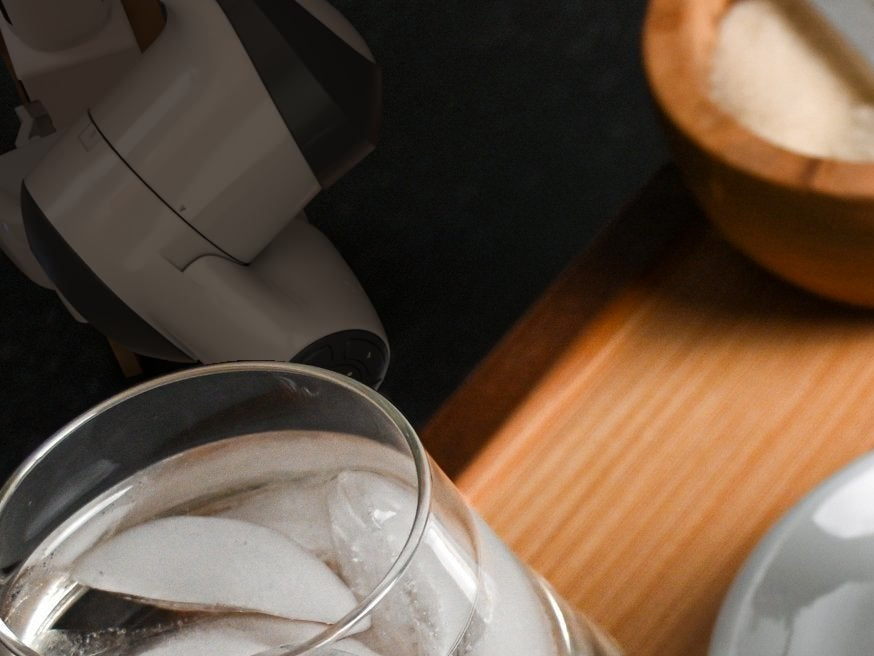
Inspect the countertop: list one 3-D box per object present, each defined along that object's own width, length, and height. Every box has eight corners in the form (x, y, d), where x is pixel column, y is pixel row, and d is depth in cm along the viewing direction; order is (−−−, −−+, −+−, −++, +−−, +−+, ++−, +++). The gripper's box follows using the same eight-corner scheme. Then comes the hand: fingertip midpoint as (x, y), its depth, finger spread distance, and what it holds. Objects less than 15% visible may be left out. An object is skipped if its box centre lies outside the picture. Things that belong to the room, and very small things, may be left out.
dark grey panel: (38, 107, 121) (-42, -67, 111) (149, 74, 122) (80, -102, 112) (61, 176, 117) (-19, 1, 107) (175, 141, 119) (107, -35, 109)
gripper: (365, 88, 103) (258, -38, 110) (4, 245, 98) (-85, 103, 105) (392, 183, 109) (289, 57, 115) (52, 337, 103) (-36, 196, 110)
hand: (108, 80), depth 110 cm, fingers open, 8 cm apart
